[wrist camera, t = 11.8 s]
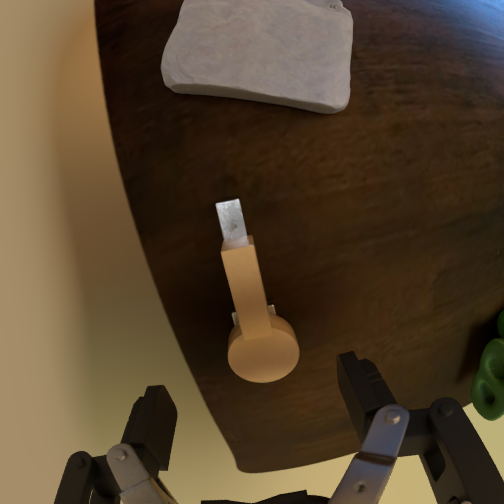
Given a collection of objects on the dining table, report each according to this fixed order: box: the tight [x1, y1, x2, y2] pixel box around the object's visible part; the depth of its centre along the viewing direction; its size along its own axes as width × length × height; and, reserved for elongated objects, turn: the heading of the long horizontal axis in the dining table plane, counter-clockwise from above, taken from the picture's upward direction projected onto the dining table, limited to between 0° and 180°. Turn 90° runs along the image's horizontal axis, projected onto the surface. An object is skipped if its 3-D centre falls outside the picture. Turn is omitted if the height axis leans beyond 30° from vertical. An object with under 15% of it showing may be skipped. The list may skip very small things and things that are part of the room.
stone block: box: [161, 0, 353, 114], centre depth 15 cm, size 12×5×10 cm
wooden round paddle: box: [221, 235, 299, 383], centre depth 20 cm, size 11×5×2 cm, turn 12°
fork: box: [215, 196, 276, 325], centre depth 22 cm, size 14×3×1 cm, turn 12°
